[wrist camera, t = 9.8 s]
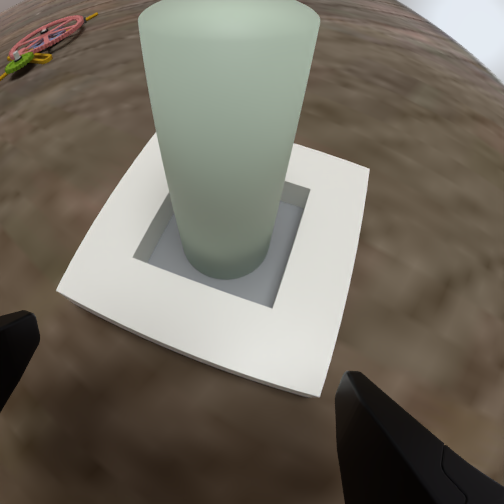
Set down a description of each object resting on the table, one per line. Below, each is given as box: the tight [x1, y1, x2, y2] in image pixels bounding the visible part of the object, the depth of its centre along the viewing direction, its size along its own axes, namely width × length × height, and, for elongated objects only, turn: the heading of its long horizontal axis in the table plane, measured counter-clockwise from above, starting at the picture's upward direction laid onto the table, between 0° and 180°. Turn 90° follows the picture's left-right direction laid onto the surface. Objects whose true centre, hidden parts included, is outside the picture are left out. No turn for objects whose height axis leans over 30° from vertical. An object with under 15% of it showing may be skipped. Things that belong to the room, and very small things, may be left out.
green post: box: [138, 0, 320, 280], centre depth 12 cm, size 5×5×13 cm
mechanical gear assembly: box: [0, 13, 98, 81], centre depth 29 cm, size 30×4×15 cm
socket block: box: [56, 133, 370, 398], centre depth 18 cm, size 14×14×2 cm
